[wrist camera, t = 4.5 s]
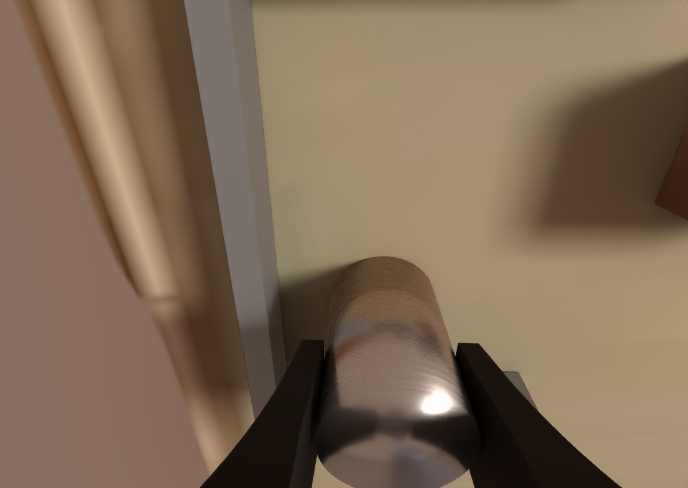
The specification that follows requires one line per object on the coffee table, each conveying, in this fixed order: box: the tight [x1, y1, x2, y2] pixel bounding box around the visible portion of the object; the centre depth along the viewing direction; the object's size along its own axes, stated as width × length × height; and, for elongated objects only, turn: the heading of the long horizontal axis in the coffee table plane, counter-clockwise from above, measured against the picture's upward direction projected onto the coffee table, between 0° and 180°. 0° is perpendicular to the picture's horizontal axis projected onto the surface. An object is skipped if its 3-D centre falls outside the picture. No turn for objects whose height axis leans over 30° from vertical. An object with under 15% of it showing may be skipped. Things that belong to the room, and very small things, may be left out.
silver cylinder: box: [316, 256, 481, 488], centre depth 12 cm, size 4×4×6 cm
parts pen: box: [184, 0, 539, 420], centre depth 12 cm, size 16×11×2 cm
